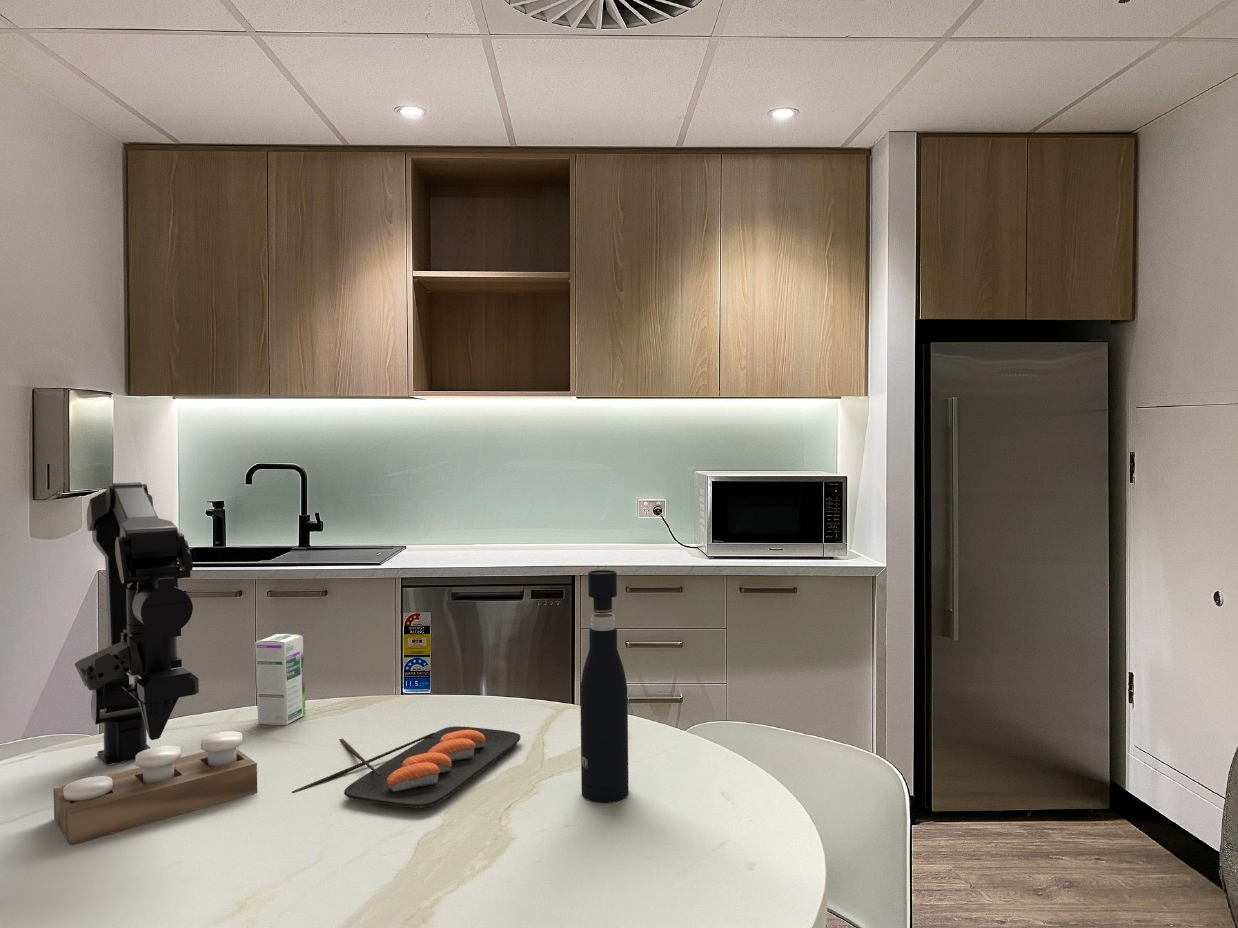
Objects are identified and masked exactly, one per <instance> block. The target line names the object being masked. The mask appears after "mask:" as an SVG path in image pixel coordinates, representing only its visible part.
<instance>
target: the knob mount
mask: <svg viewBox="0 0 1238 928" xmlns="http://www.w3.org/2000/svg"><path fill="white" fill-rule="evenodd" d="M236 759H237V761H236V762H232V763H229V764H225V765H221V766H217V767H213V768H209V767H208V751H202V752H197V753H193V754H190V755H189V754H188V755H185V756H181V757H180V759H179V760H177V761H175V762H174V777H173V778H170V779H166V780H162V781H158V782H154V783H150V784H146V785H144V784H143V767H138V766H137V767H134V768H130V769H127V770H122V771H118V772H114V773H110V774H106V775H104V776H107V777H110V778H112V783H113V788H112V790H111V791H110V792H108V793H106V794H105V795H103V796H99V797H96V798H92V799H87V800H83V801H79V802H75V803H72V801H70V800H66V799H64V787H65V786H66V785H67V784H64V785H60V786H59V785H58V786H56V787H55V786H54V787H53V788H52V789H53V819H54V821H55V823H56V824H57V826H58V828H59V829H60V831H61V833H62V834H63V836H64V838H65V839H66V840H67V843H68V844H69V845H70V846H73V845H75V844H79V843H83V842H86V841H90V840H93V839H94V840H95V839H97V838H100V837H104V836H107V835H111V834H115V833H118V832H123V831H126V830H129V829H132V828H136V827H140V826H143V825H146V824H150V823H153V822H154V823H155V822H157V821H161V820H164V819H167V818H171V817H176V816H178V815H182V814H184V813H189V812H192V811H195V810H199V809H203V808H206V807H211V806H213V805H217V804H221V803H225V802H227V801H231V800H235V799H239V798H242V797H246V796H249V795H253V794H256V793H258V763H257V762H256V761H255V760H253V759H252V758H251V757H249V756H248V755H246V754H245V753H243V752H242V751H241V750H239V749H238V748H236Z"/></svg>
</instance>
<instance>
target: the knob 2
mask: <svg viewBox="0 0 1238 928" xmlns="http://www.w3.org/2000/svg"><path fill="white" fill-rule="evenodd" d="M242 744H243V734H242V732H239V731H221V732H215V733H212V734H209V735H205V736H204V737H203V738H201V740H200V749H201V751H202V752H205V751H208V767H209V768H213V767H217V766H221V765H225V764H229V763H232V762H236V761H237V759H236V749H237V748H238V747H239V746H241V745H242Z"/></svg>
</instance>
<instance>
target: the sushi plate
mask: <svg viewBox="0 0 1238 928" xmlns="http://www.w3.org/2000/svg"><path fill="white" fill-rule="evenodd" d="M338 740H339V741H340V743H341V745H343V746H344V748H345V750H347V751H348V752H350V754H352V755H353V756H354V757H356V758H357V759H358V760H360V762H359V763H357V764H355V765H353V766H350V767H347V768H346V769H342V770H340V771H338V772H335V773H332V774H331V775H328V776H326V777H324V778H323V777H322V778H320V779H318V780H316V781H313V782H311V783H309V784H306V785H304V786H301V787H299V788H297V789H295V790H293V791H292V790H291V793H292V794H295V793H297V792H301V791H303V790H306V789H309V788H312V787H315V786H318V785H321V784H325V783H327V782H330V781H332V780H334V779H337V778H339V777H341V776H344V775H346V774H348V773H351V772H353V771H354V770H357V769H359V768H361V767H363V766H367V768H369V769H370V770H371V771H369V772H368V773H366V774H364V775H362V776H361V777H359V778H358V779H356V780H355V781H353V782H352V783H350V784H349V785H347V787H346V788H345V789H344V790H343V791H344V792H343V794H344V796H345V797H347V798H349V799H353V800H357V801H361V802H367V803H374V804H381V805H389V806H395V807H405V808H415V809H417V808H427V807H431V806H433V805H436V804H439V803H440V802H442V801H443V800H445V799H446V798H447V797H449V796H450V795H452V794H453V793H455V792H456V791H457V790H459V789H460V788H461V787H463V786H464V785H465V784H466V783H468V782H469V781H470V780H471V779H473V778H474V777H476V776H477V775H478V774H479V773H480V772H482V771H483V770H485V769H486V768H487V767H488V766H490V765H491V764H493V762H495V761H496V760H497V759H499V758H500V757H502V756H503V755H504V754H506V753H507V752H508V751H510V750H511V749H512V748H513V747H514V746H516V745H517V744H518V743H519V742H520V740H521V735H520V733H518V732H513V731H507V730H501V729H494V728H493V729H491V728H483V727H473V726H456V725H455V726H454V725H453V726H447V727H445V728H442V729H439V730H437V731H436V732H432V733H429V734H427V735H424V736H422V737H420V738H417V739H415V740H412V741H409V742H407V743H406V744H402V745H400V746H398V747H396V748H393V749H391V750H389V751H386V752H384V753H381V754H379V755H376V756H374V757H372V758H369V759H367V760H365V758H363V756H361V755H360V754H359V753H358V752H357V751H356V750H355V749H354V748H353V747H352V746H351V745H350V744H349V743H348V742H347V741H346V740H345V739H343V738H339V739H338ZM413 744H414V745H413ZM411 745H412V746H411ZM408 746H409V747H408ZM410 746H411V747H410ZM407 747H408V748H407ZM404 748H407V749H405V750H404V751H402V752H400V753H399V754H397V755H395V756H394V757H392V758H390V759H389V760H388V761H386V762H384V763H382V764H380V765H379V766H377V767H376V768H374V767H373V766H372V765H371V764H370V763H373V762H374V761H376V760H379V759H381V758H384V757H386V756H389V755H390V754H393V753H394V752H395V753H396V752H397V751H400V750H402V749H404Z"/></svg>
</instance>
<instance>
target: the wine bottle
mask: <svg viewBox="0 0 1238 928" xmlns="http://www.w3.org/2000/svg"><path fill="white" fill-rule="evenodd" d="M587 577H588V578H587V579H588V580H587V581H588V585H587V586H588V589H587V591H588V593H587V594H588V597H589V598H593V608H592V612H593V613H594V614H592V615H591V618H590V621H591V623H590V626H591V628H589V631H588V632H589V633H588V636H589V637H588V638H589V645H588V646H589V648H588V649H589V650H588V653H587V655H586V659H585V662H584V665H583V669H582V672H581V673H582V674H581V680H580V687H579V692H580V693H579V696H580V700H579V701H580V702H579V703H580V705H579V706H580V707H579V708H580V767H581V769H580V773H581V774H580V775H581V776H580V778H581V783H580V785H581V796H582V797H583V798H584V799H586V800H588V801H590V802H593V803H602V804H606V803H613V802H614V803H615V802H618V801H621V800H624V799H625V798H627V796H628V795H629V792H630V791H629V785H630V784H629V723H628V720H629V717H628V712H629V711H628V705H629V704H628V683H627V678H626V672H625V669H624V665H623V662H622V659H621V656H620V653H619V651H618V630H617V628H616V627H615V626H616V622H615V621H616V618H615V614H613V613H611V612H613V610H614V609H613V598H616V597H617V595H618V593H617V592H618V590H617V589H618V585H617V584H618V583H617V581H618V579H617V577H618V576H617V571H616V570H611V569H610V570H609V569H597V570H591V571H588V573H587Z"/></svg>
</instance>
